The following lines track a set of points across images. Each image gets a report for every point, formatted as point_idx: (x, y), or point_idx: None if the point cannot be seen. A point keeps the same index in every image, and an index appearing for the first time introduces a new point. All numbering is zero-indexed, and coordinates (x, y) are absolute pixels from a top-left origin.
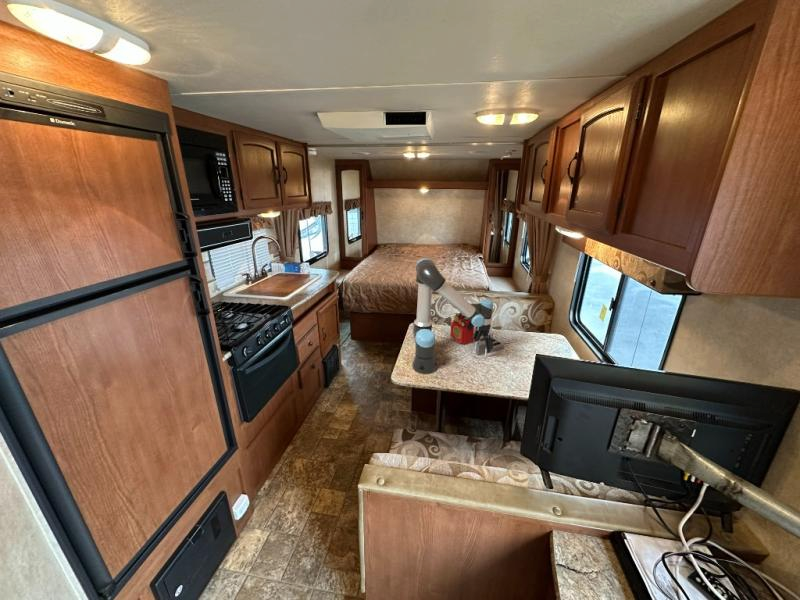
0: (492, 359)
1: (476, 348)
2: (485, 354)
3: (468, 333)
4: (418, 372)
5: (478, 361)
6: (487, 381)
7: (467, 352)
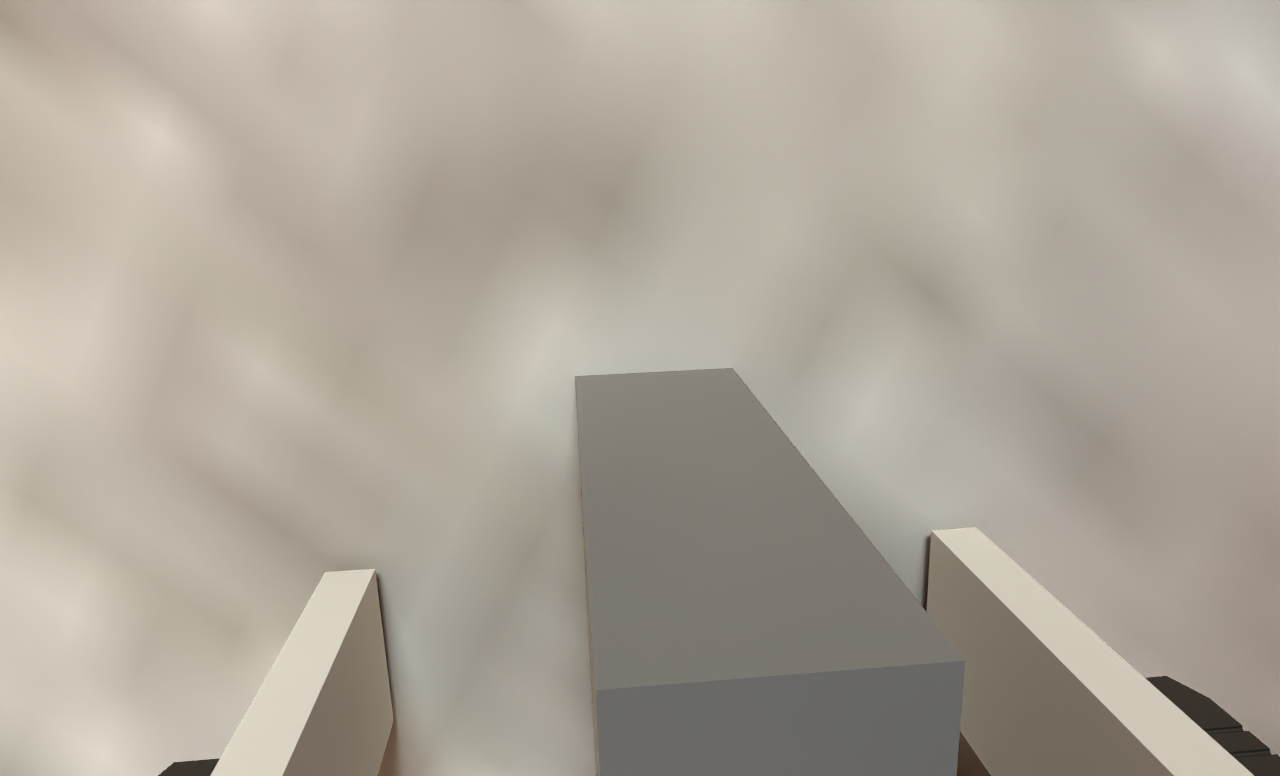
0: (106, 723)
1: (789, 475)
2: (307, 641)
3: None
4: None
5: (165, 88)
6: None
7: (1016, 128)
